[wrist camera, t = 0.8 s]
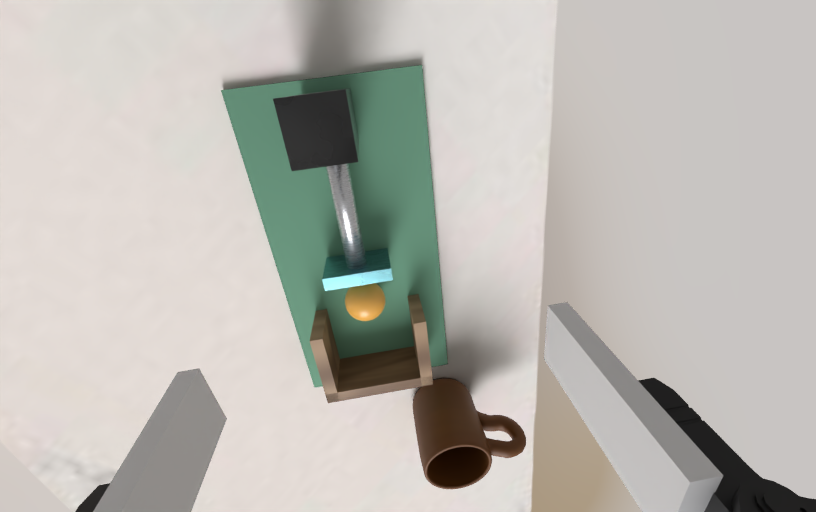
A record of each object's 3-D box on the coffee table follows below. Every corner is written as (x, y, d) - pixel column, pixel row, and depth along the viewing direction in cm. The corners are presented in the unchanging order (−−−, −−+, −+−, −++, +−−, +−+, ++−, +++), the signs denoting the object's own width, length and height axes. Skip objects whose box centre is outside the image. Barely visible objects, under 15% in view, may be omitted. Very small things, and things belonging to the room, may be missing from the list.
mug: (502, 365, 45) (535, 429, 36) (502, 407, 48) (532, 475, 40) (408, 381, 44) (419, 451, 36) (414, 423, 48) (426, 496, 39)
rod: (287, 96, 28) (254, 101, 19) (362, 86, 29) (363, 87, 20) (329, 267, 35) (318, 329, 26) (389, 258, 36) (398, 316, 27)
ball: (342, 276, 36) (340, 297, 33) (381, 270, 36) (383, 290, 33) (349, 309, 38) (348, 332, 34) (386, 303, 38) (389, 325, 35)
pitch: (223, 90, 28) (221, 90, 28) (421, 65, 29) (421, 65, 29) (315, 384, 43) (314, 387, 42) (446, 361, 43) (447, 364, 43)
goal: (315, 310, 38) (309, 341, 33) (418, 294, 38) (425, 321, 34) (331, 368, 41) (328, 403, 37) (425, 352, 42) (433, 384, 37)
